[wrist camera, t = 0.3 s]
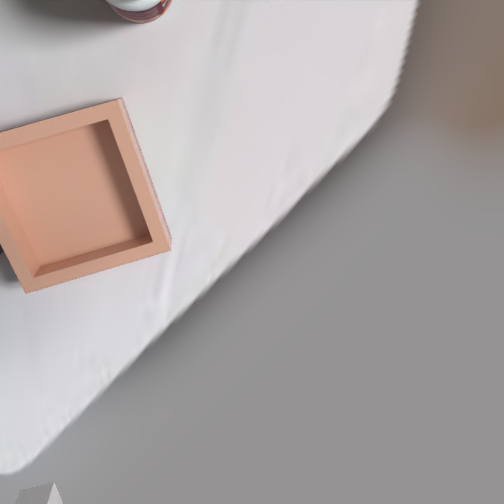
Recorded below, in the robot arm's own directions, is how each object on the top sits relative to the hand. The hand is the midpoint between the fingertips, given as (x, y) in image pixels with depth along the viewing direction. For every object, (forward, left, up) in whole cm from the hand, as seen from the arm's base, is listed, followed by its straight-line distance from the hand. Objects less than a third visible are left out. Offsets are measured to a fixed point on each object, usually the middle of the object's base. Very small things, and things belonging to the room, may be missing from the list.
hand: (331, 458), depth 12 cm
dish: (-4, -11, -27) cm, 29 cm away
